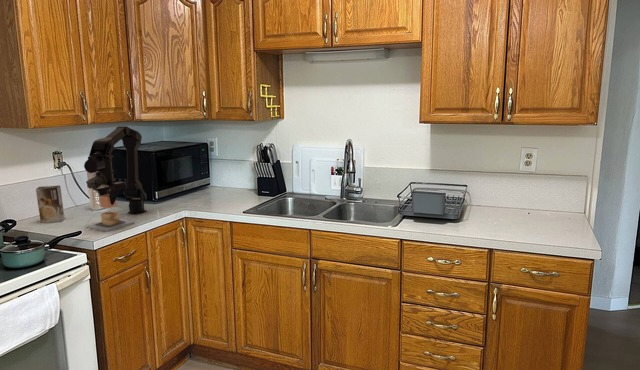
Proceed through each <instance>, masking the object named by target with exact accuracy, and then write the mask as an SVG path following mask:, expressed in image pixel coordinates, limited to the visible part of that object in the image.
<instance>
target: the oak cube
mask: <svg viewBox="0 0 640 370" xmlns="http://www.w3.org/2000/svg"><path fill="white" fill-rule="evenodd" d="M100 216H101V217H100V218H101V222H102V224H103V225H109V226H110V225H113V224H116V223H119V219H120V215H119V212H118V211H112V210H111V211H109V210H108V211H106V212H102V213H100Z"/></svg>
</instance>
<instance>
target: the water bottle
mask: <svg viewBox="0 0 640 370" xmlns="http://www.w3.org/2000/svg"><path fill="white" fill-rule="evenodd" d="M85 171H86V170H85ZM95 173H96V172H94V173H89V172H87V171H86V177H87V181H88V180H89V179H91V178H93V177H95V176H96V174H95ZM88 198H89V205H90V210H93V211H99V210H103V209H105V208H104V207H101V202H100V195H99V193H98V192H97V191H95V190H93V189H92V188H91V189H89V188H88Z"/></svg>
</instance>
